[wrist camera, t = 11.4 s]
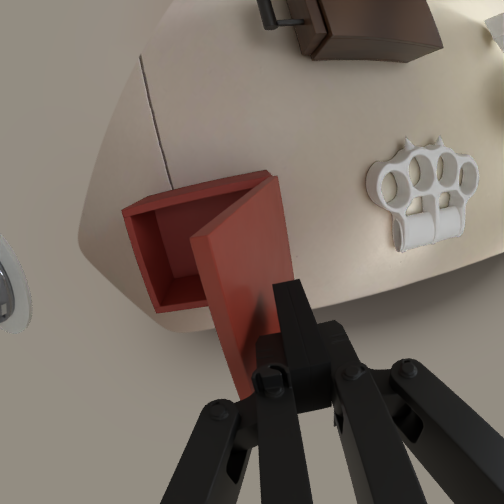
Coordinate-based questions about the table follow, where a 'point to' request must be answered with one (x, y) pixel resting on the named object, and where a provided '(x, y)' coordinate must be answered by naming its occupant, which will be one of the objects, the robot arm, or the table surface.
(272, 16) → the drawer
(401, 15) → the cabinet
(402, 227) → the white brass knuckles
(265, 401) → the robot arm
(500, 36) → the pile of blocks
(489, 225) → the table surface
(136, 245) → the chest
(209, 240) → the lid
